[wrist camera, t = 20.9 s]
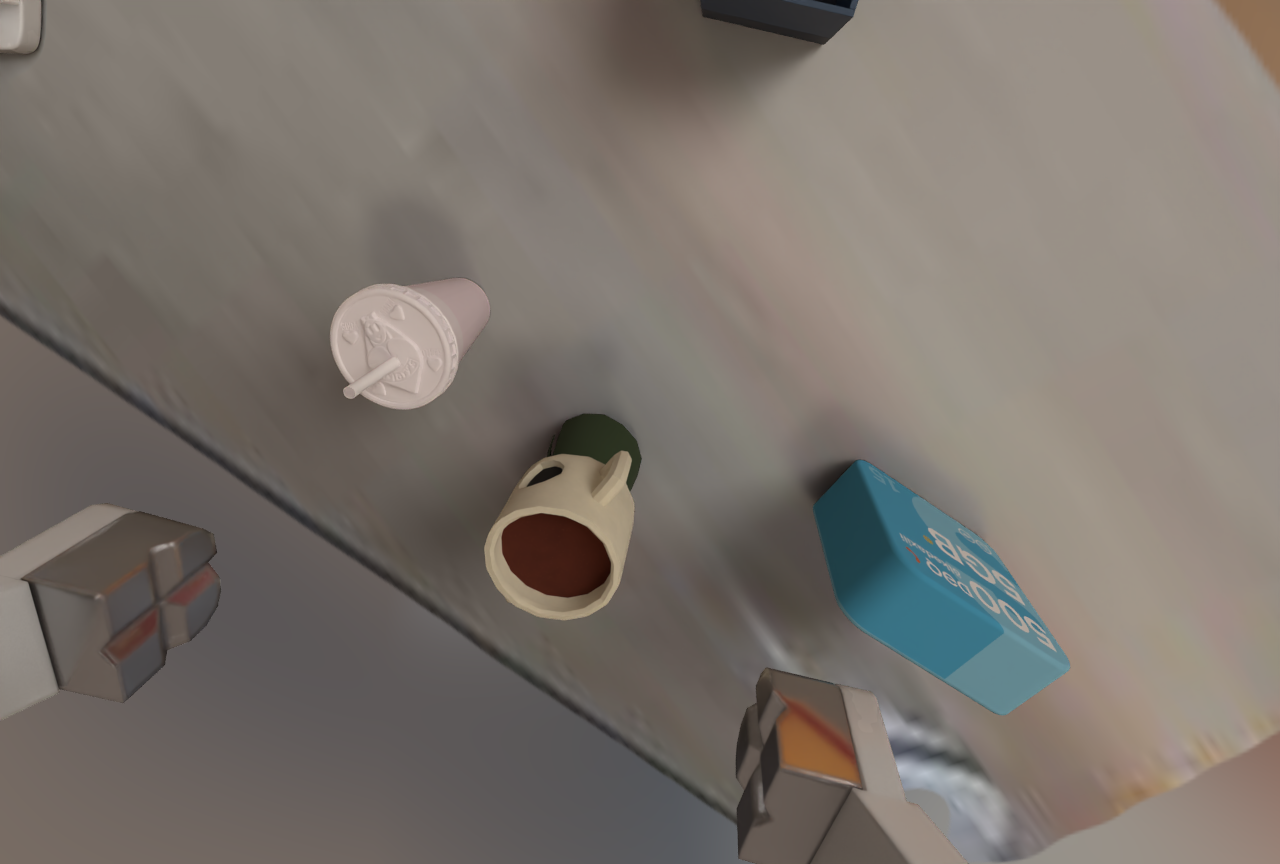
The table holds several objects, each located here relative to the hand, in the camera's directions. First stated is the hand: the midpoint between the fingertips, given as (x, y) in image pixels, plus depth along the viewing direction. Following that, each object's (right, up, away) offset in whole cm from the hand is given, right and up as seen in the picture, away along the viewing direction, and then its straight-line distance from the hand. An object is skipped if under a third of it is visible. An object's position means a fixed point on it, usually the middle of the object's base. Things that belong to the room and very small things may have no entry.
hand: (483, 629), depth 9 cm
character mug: (-1, +2, +34) cm, 34 cm away
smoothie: (-9, +11, +31) cm, 34 cm away
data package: (+20, -3, +33) cm, 39 cm away
